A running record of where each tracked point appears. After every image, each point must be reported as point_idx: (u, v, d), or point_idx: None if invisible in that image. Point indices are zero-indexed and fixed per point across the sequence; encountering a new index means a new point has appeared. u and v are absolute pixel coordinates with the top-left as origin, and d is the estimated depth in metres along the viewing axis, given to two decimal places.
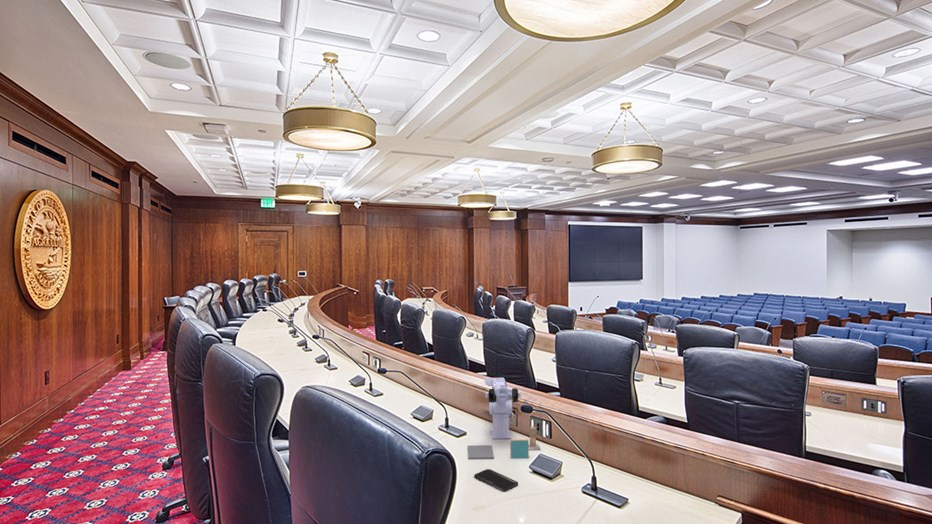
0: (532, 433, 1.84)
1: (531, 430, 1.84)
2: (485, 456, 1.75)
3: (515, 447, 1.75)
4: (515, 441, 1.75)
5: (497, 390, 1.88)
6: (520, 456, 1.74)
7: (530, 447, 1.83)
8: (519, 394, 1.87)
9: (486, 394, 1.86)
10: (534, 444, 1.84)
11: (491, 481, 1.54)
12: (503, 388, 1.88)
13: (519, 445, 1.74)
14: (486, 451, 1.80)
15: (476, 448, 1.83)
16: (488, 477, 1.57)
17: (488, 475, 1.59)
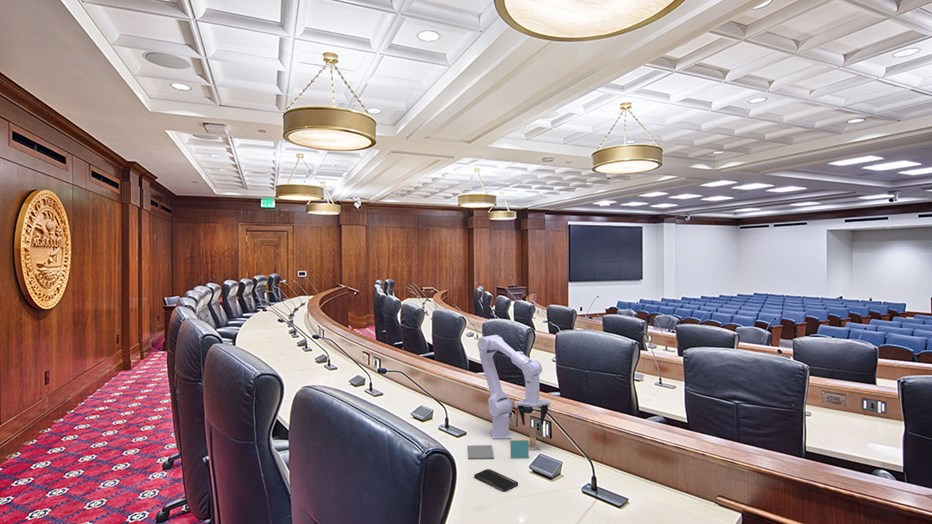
0: (532, 433, 1.84)
1: (531, 430, 1.84)
2: (485, 456, 1.75)
3: (515, 447, 1.75)
4: (515, 441, 1.75)
5: None
6: (520, 456, 1.74)
7: (530, 447, 1.83)
8: None
9: (515, 406, 1.85)
10: (534, 444, 1.84)
11: (491, 481, 1.54)
12: None
13: (519, 445, 1.74)
14: (486, 451, 1.80)
15: (476, 448, 1.83)
16: (488, 477, 1.57)
17: (488, 475, 1.59)
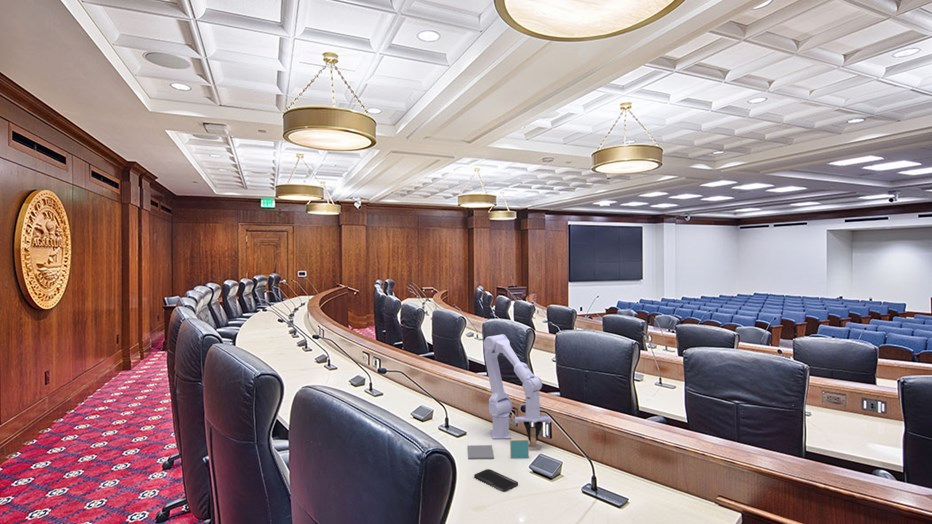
0: (532, 433, 1.84)
1: (531, 430, 1.84)
2: (485, 456, 1.75)
3: (515, 447, 1.75)
4: (515, 441, 1.75)
5: None
6: (520, 456, 1.74)
7: (530, 447, 1.83)
8: None
9: (516, 422, 1.85)
10: (534, 444, 1.84)
11: (491, 481, 1.54)
12: None
13: (519, 445, 1.74)
14: (486, 451, 1.80)
15: (476, 448, 1.83)
16: (488, 477, 1.57)
17: (488, 475, 1.59)
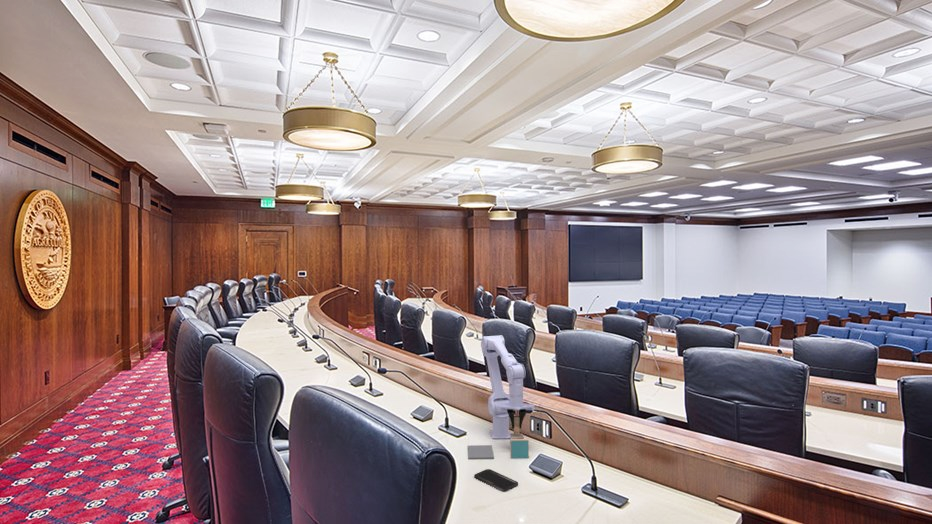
0: (516, 422, 1.82)
1: (515, 419, 1.82)
2: (485, 456, 1.75)
3: (515, 447, 1.75)
4: (515, 441, 1.75)
5: None
6: (520, 456, 1.74)
7: (513, 436, 1.81)
8: None
9: (499, 410, 1.83)
10: (518, 433, 1.82)
11: (491, 481, 1.54)
12: None
13: (519, 445, 1.74)
14: (486, 451, 1.80)
15: (476, 448, 1.83)
16: (488, 477, 1.57)
17: (488, 475, 1.59)
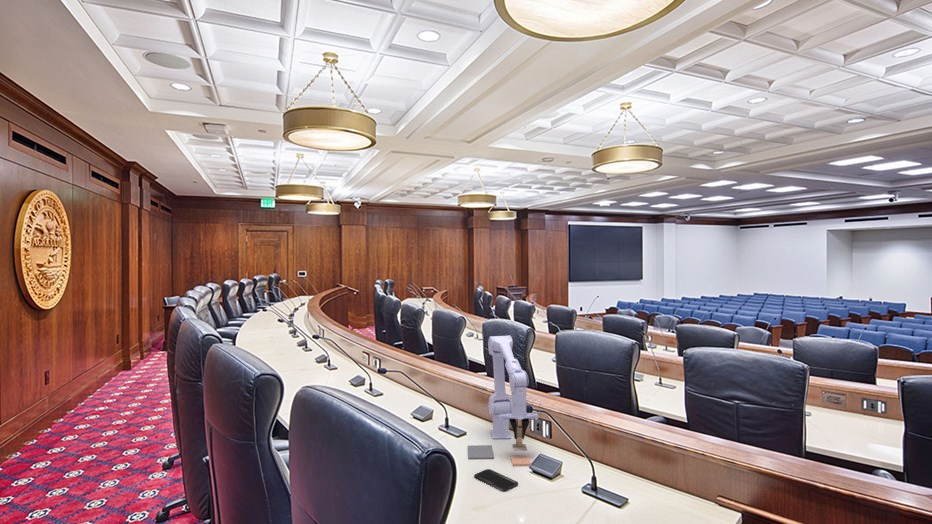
0: (518, 432, 1.75)
1: (517, 429, 1.75)
2: (485, 456, 1.75)
3: None
4: None
5: None
6: None
7: (516, 447, 1.73)
8: None
9: (501, 420, 1.75)
10: (520, 444, 1.75)
11: (491, 481, 1.54)
12: None
13: None
14: (486, 451, 1.80)
15: (476, 448, 1.83)
16: (488, 477, 1.57)
17: (488, 475, 1.59)
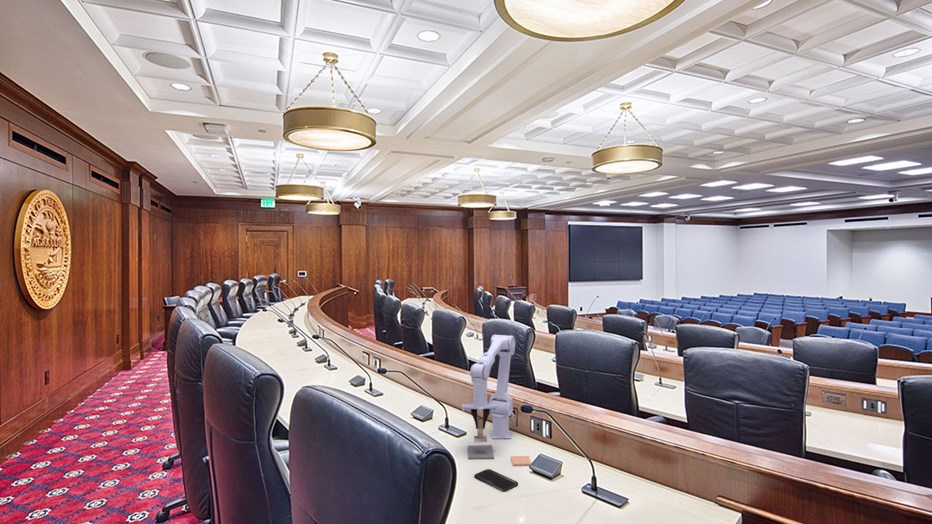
0: (479, 424, 1.79)
1: (478, 421, 1.79)
2: (485, 456, 1.75)
3: None
4: None
5: None
6: None
7: (477, 438, 1.78)
8: None
9: None
10: (481, 435, 1.79)
11: (491, 481, 1.54)
12: None
13: None
14: (486, 451, 1.80)
15: (476, 448, 1.83)
16: (488, 477, 1.57)
17: (488, 475, 1.59)
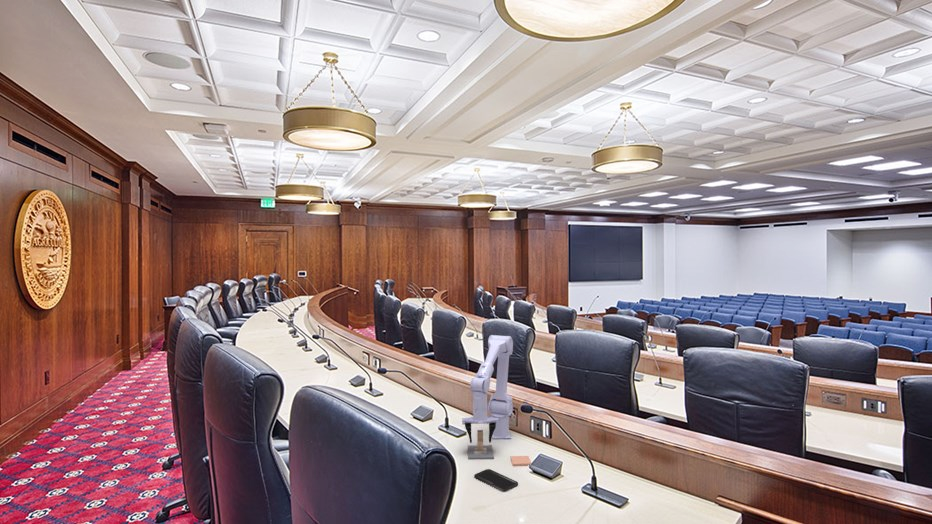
0: (479, 437, 1.79)
1: (478, 434, 1.79)
2: (485, 456, 1.75)
3: None
4: None
5: None
6: None
7: (477, 451, 1.78)
8: None
9: None
10: (481, 448, 1.79)
11: (491, 481, 1.54)
12: None
13: None
14: None
15: None
16: (488, 477, 1.57)
17: (488, 475, 1.59)
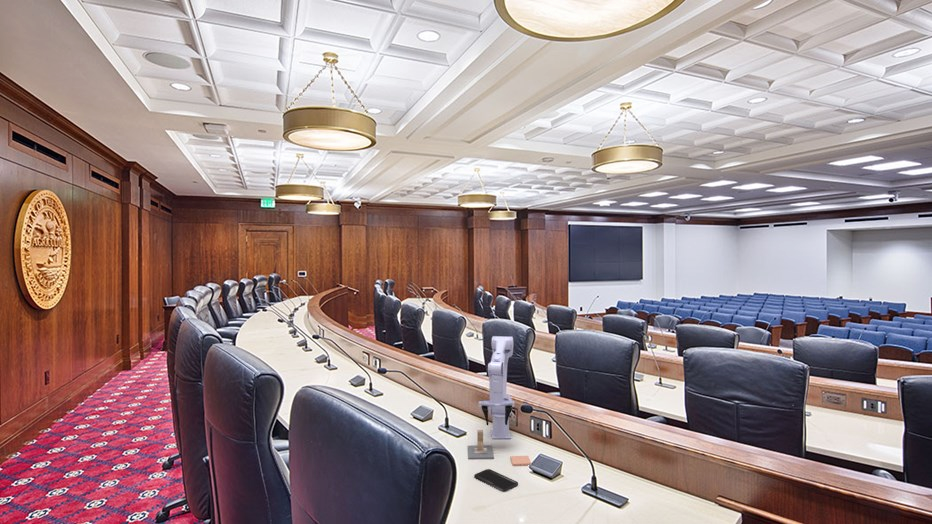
0: (479, 437, 1.79)
1: (478, 434, 1.79)
2: (485, 456, 1.75)
3: None
4: None
5: None
6: None
7: (477, 451, 1.78)
8: None
9: None
10: (481, 448, 1.79)
11: (491, 481, 1.54)
12: None
13: None
14: None
15: None
16: (488, 477, 1.57)
17: (488, 475, 1.59)
